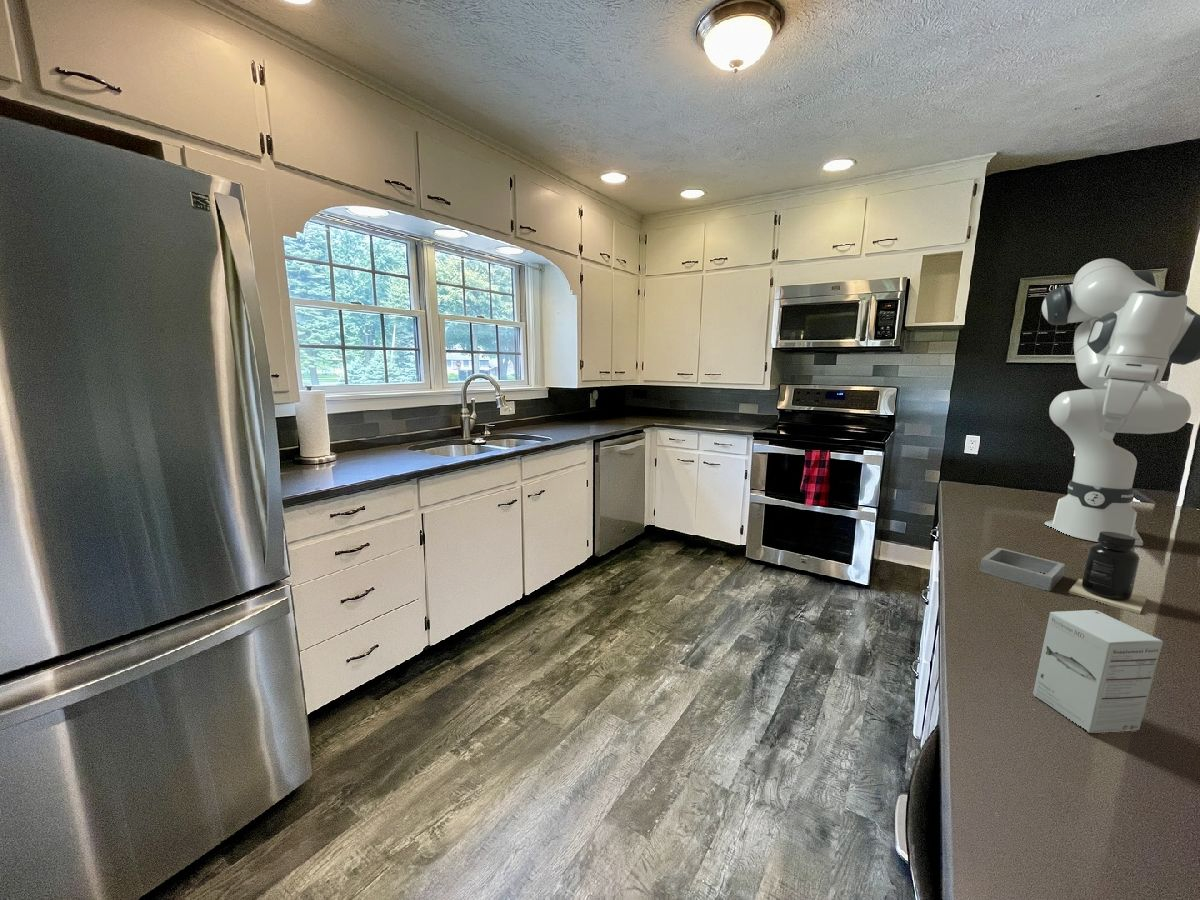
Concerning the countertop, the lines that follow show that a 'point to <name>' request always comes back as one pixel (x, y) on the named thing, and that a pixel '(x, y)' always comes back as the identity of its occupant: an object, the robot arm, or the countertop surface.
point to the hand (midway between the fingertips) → (1106, 438)
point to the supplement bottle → (1111, 566)
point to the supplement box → (1096, 670)
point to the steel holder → (1022, 568)
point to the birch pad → (1131, 604)
